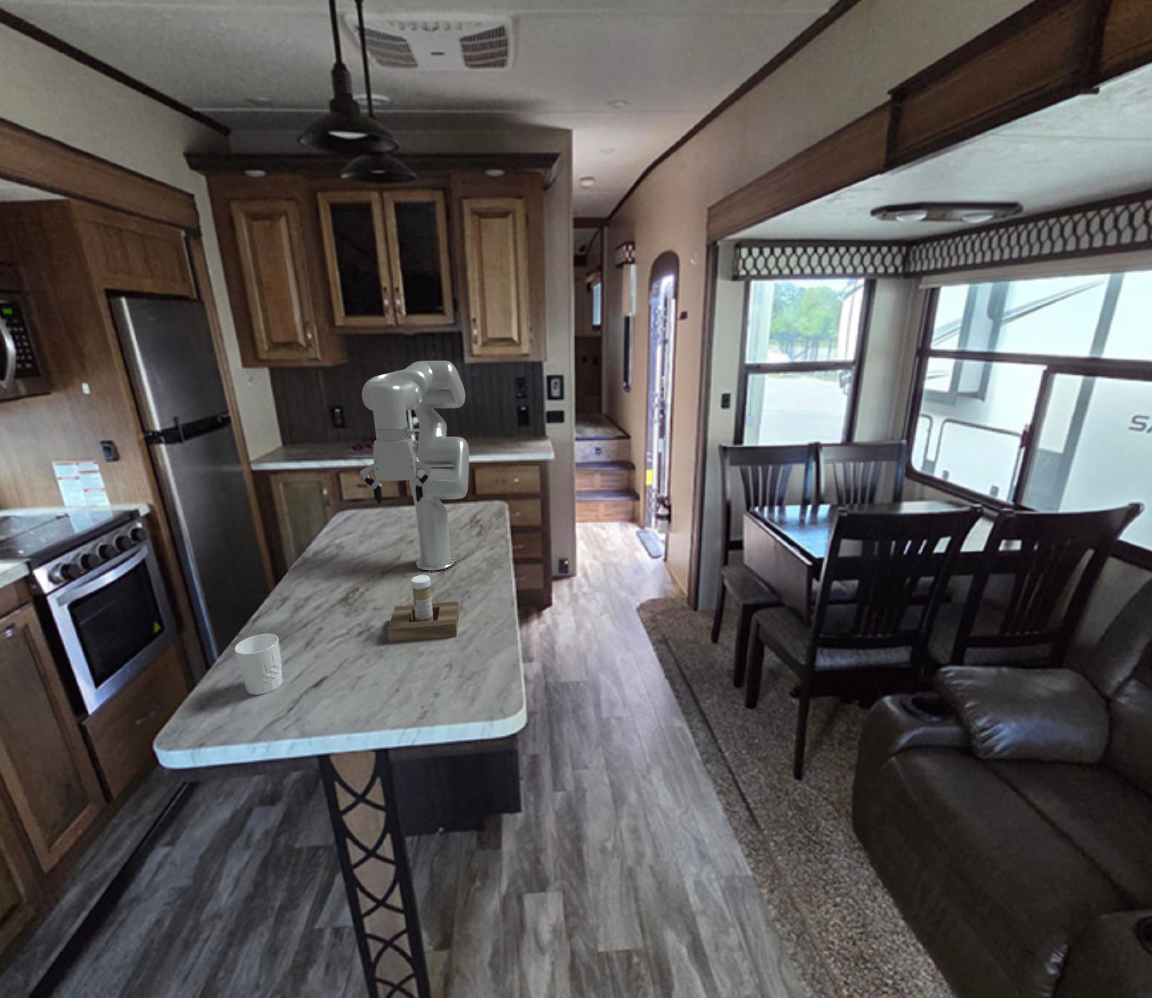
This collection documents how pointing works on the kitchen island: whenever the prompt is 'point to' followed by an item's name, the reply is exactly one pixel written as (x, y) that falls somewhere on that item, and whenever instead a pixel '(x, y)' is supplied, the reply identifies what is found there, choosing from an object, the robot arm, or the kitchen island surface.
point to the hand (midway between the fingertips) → (399, 501)
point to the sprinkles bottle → (422, 598)
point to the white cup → (260, 663)
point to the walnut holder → (424, 623)
